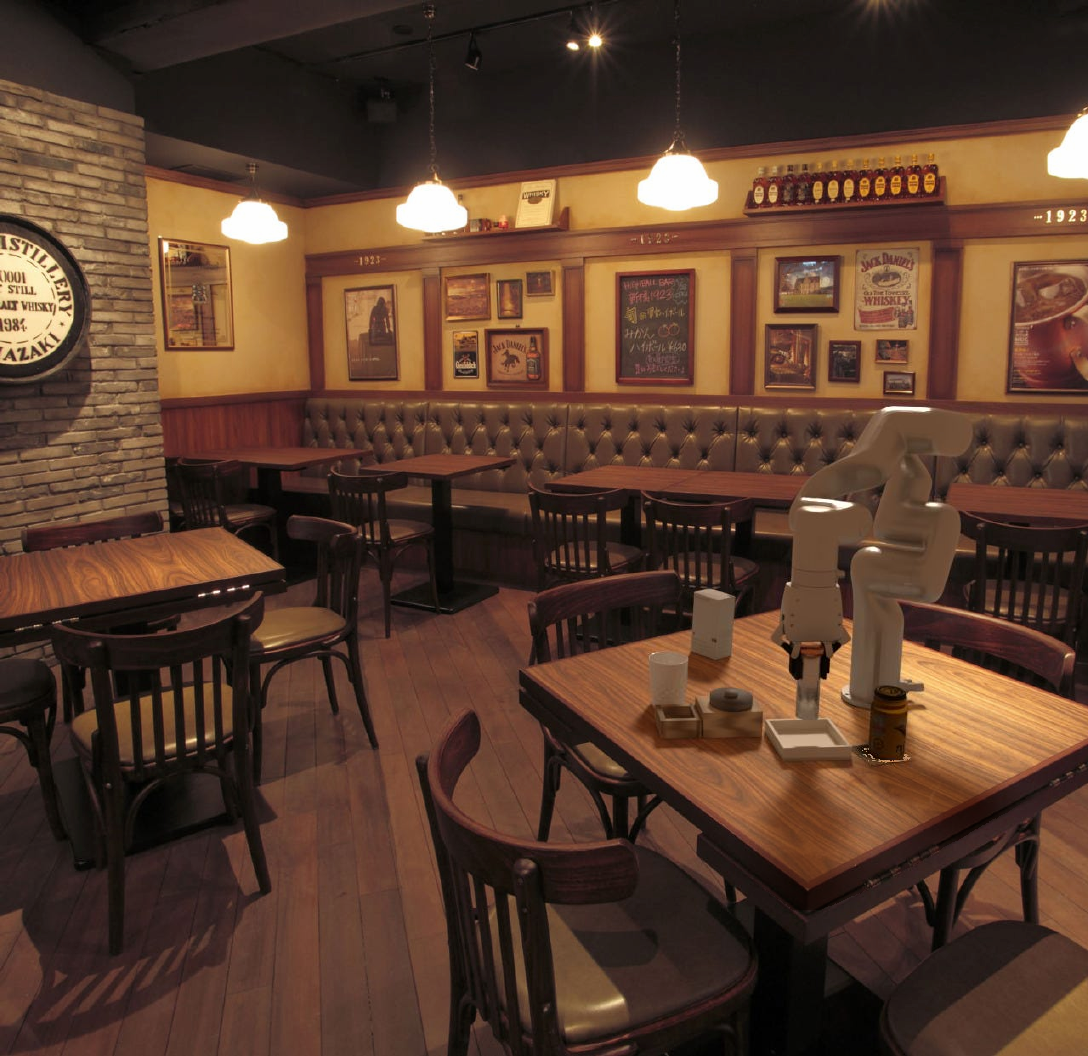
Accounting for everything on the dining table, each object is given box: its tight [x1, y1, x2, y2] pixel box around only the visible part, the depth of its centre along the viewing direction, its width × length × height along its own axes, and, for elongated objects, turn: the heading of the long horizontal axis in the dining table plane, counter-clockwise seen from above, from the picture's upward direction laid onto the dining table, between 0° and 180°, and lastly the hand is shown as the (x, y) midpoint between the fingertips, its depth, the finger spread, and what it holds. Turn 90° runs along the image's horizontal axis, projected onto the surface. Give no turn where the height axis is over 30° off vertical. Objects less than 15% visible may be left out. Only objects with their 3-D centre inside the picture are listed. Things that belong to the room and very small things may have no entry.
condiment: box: [851, 685, 916, 766], centre depth 152 cm, size 7×8×12 cm
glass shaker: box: [794, 642, 825, 721], centre depth 154 cm, size 5×5×13 cm
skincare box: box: [690, 588, 736, 661], centre depth 204 cm, size 8×6×15 cm
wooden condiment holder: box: [654, 686, 764, 740], centre depth 164 cm, size 19×8×7 cm, turn 91°
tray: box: [764, 717, 853, 762], centre depth 157 cm, size 12×12×2 cm
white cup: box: [648, 650, 689, 708], centre depth 175 cm, size 8×8×10 cm
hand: (808, 676), depth 154 cm, fingers closed on glass shaker, 4 cm apart
